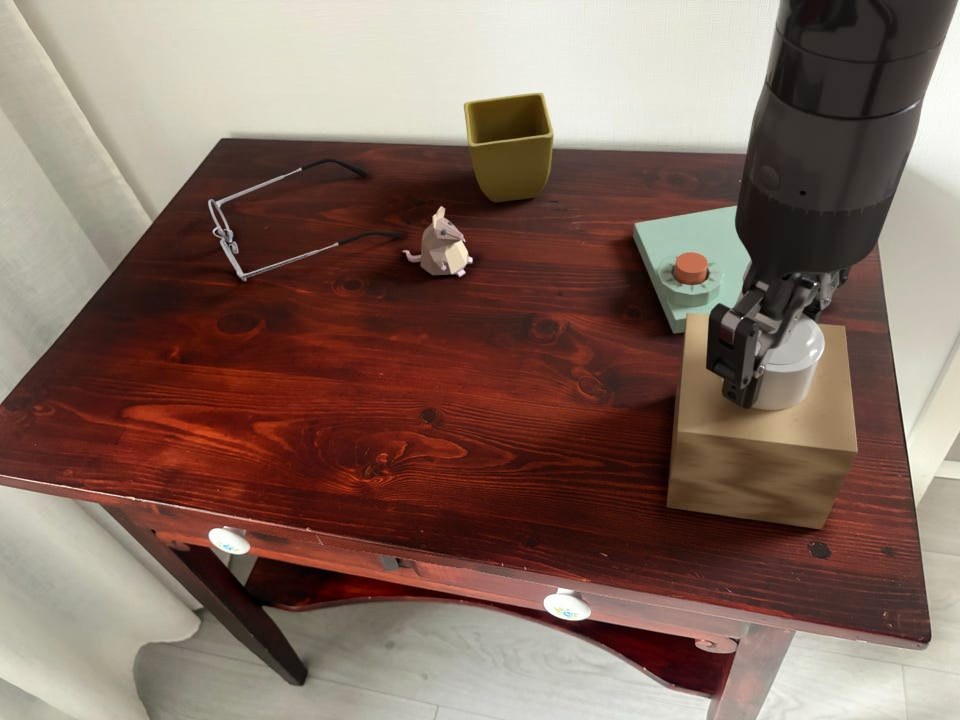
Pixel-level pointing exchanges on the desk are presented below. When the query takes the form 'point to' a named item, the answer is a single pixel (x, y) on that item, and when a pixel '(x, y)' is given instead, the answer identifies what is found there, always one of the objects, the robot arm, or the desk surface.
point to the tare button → (690, 268)
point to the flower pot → (510, 145)
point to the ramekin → (790, 365)
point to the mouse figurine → (442, 248)
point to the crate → (761, 441)
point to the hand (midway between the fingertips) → (766, 369)
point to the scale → (698, 235)
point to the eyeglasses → (244, 276)
